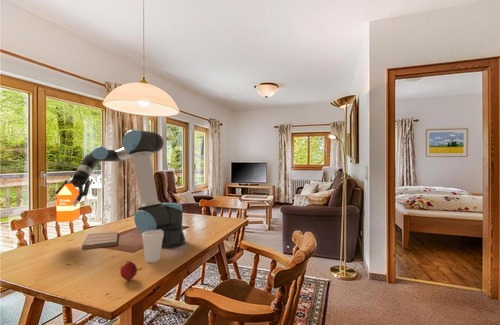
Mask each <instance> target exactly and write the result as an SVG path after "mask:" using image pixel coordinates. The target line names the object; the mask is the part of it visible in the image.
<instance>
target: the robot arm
mask: <svg viewBox="0 0 500 325" xmlns="http://www.w3.org/2000/svg"><path fill="white" fill-rule="evenodd" d="M164 145H165V144H164V139H163V137H162V136H161V135H160V134H159V133H157V132H154V131H146V130H142V129H141V130H140V129H130V130H128V131H127V132H125V133H124V136H123V138H122V147H121V148H118V149H107V147H104V146H101V145H99V146H96V147H95V148H94V149H93V150H92V151H91V152H89V153H88V152H87V153H86V154H85V156H84V157H83V158H82V161H81V163H80V164H79V166H78V167H77V169H76V171H75V172H74V174H73V176H72V178H71V179H70V180H68V179H65V180H64V182H63V184H61V186H60V187H59V188H58V189H57V190H56V191H55V194H56V195H57V194H58V193H59V192H60V190H61V189H62V188H63V186H64V185H66V184H71V183H72V184H73V185H74V187H75V188H78V192H79V194H77V196H76V198H75V199H74V201H73V203H72V205H73V206H74V207H76V205H77V203H78V202H79V201H81V200H82V198H83V197H87V196H88V194H89V189H90V186H91V184H92V182H91V180H90V179H89V178H90V176H91V174H92V172H93V170H94V169H95V168H96V166H97V165H98V164H100V163H101V162H119V163H120V162H126V161H127V159H128V160H129V159H131V158H132V160H133V166H134V173H135V177H136V178H135V179H136V185H137V190H138V198H139V202H140V203H139V205H138V207H137V211H136V213H135V214H134V218H133V220H134V224H135V226H136V228H137V229H138V230H139V231H140V232H142V233H143V232H145V231H149V230H162V231H164V236H163V240H162V247H161V248H164V249H165V248H166V249H170V248H178V247H182V246H184V245H185V244H186V237H185V234H184V231H183V214H184V213H183V212H184V211H183V205H182V204H181V203H177V202H161V201H160V200H159V198H158V193H157V188H156V182H155V176H154V172H153V171H154V170H153V163H152V158H151V157H152V156H153V154H154V153H158V152H160V151H161V150H162V149H163V147H164ZM53 205H54V207H56V208H57V196H56V198H55V201H54V203H53Z"/></svg>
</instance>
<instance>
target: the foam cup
mask: <svg viewBox="0 0 500 325" xmlns="http://www.w3.org/2000/svg"><path fill="white" fill-rule="evenodd" d="M163 236H164V231H162V230H161V229H159V230H149V231H145V232H142V234H141V240H142V244H143V245H142V246H143V250H144V251H143V252H144V260H145V262H146V263H155V262H158V261H160V259H161V258H160V257H161V251H162V248H163V247H162V240H163Z"/></svg>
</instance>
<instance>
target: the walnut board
mask: <svg viewBox="0 0 500 325" xmlns="http://www.w3.org/2000/svg"><path fill="white" fill-rule="evenodd" d="M118 236H119V231H118V230H116V231H107V232H98V233H88V234H87V235H86V236H85V239H84V240H83V243H82V245H81V250H88V249H96V248H104V247H112V246H117V245H118V244H117V243H118Z"/></svg>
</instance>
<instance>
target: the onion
mask: <svg viewBox="0 0 500 325" xmlns="http://www.w3.org/2000/svg"><path fill="white" fill-rule="evenodd" d="M137 271H138V268H137V265H136V264H135V263H134V262H133V261H131V260H127V261H126V263H124V264H123V265H122V267H121V268H120V277H121V278H123V279H124V280H126V281H127V282H129V281H131V280H132V279H133V278H134V277H135V276H136V275H137Z"/></svg>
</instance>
